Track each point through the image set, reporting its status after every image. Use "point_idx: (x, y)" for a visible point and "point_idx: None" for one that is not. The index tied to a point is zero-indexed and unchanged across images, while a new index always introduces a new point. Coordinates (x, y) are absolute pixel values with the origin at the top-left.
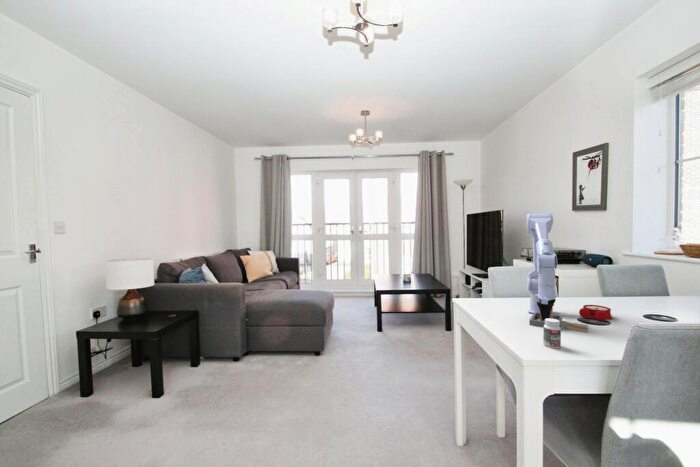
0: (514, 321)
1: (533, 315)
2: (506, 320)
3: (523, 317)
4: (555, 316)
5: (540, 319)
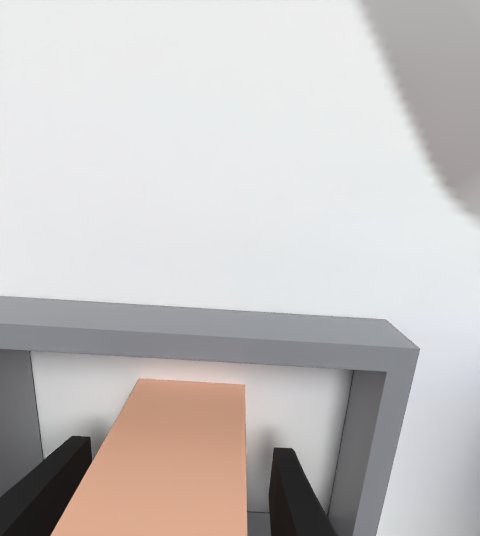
0: (36, 126)
1: (218, 350)
2: (13, 14)
3: (301, 212)
4: (346, 532)
5: (121, 414)
